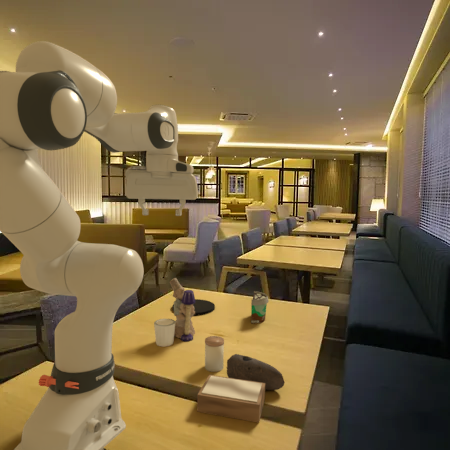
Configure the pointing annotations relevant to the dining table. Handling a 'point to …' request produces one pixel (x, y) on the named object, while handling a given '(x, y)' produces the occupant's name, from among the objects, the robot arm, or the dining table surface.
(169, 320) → the shot glass
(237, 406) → the walnut plinth
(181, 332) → the figurine
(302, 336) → the dining table surface
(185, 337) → the toy lamp
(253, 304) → the food container
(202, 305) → the wireless charger
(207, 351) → the cream canister
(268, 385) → the brown oblong lump
